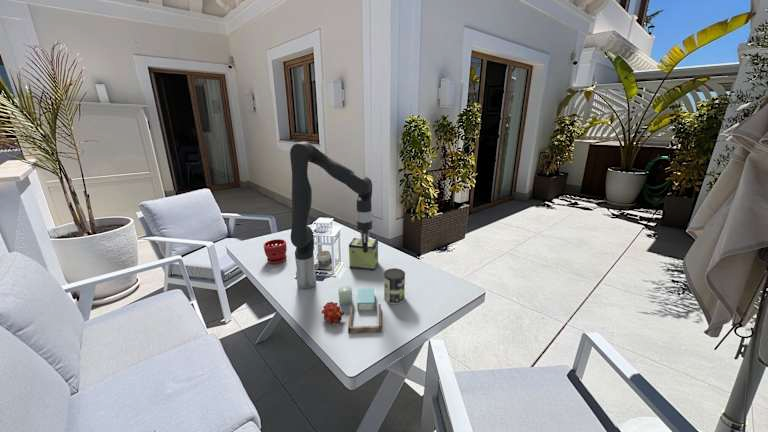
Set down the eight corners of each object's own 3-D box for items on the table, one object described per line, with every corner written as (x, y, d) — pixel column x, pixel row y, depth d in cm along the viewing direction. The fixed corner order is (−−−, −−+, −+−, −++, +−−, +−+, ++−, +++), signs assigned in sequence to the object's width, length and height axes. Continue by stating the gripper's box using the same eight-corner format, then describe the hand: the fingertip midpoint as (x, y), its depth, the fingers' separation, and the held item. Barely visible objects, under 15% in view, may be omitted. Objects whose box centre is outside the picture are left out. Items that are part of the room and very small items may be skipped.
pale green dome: (338, 305, 143) (337, 293, 141) (339, 298, 149) (339, 286, 147) (351, 305, 143) (351, 293, 141) (352, 297, 149) (352, 285, 147)
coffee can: (408, 296, 150) (408, 271, 146) (398, 307, 142) (398, 281, 137) (390, 290, 155) (390, 266, 151) (380, 300, 147) (379, 275, 142)
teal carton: (357, 311, 140) (357, 303, 138) (358, 295, 151) (358, 288, 150) (374, 310, 140) (374, 302, 139) (374, 295, 152) (374, 287, 150)
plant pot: (292, 258, 189) (290, 241, 185) (275, 267, 179) (272, 249, 175) (278, 253, 196) (276, 236, 192) (261, 261, 185) (258, 244, 181)
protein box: (374, 270, 174) (374, 246, 169) (349, 268, 177) (348, 244, 172) (378, 262, 184) (378, 239, 178) (354, 260, 187) (353, 237, 181)
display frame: (348, 333, 126) (347, 328, 125) (351, 309, 141) (350, 304, 140) (381, 332, 126) (381, 327, 125) (380, 308, 141) (380, 304, 140)
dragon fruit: (326, 314, 140) (341, 330, 132) (313, 312, 133) (328, 329, 125) (336, 298, 140) (351, 313, 132) (323, 296, 133) (338, 312, 126)
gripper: (357, 214, 149) (358, 246, 155) (355, 224, 136) (357, 258, 142) (372, 214, 149) (373, 245, 155) (372, 224, 136) (372, 257, 142)
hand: (365, 251), depth 148 cm, fingers closed
